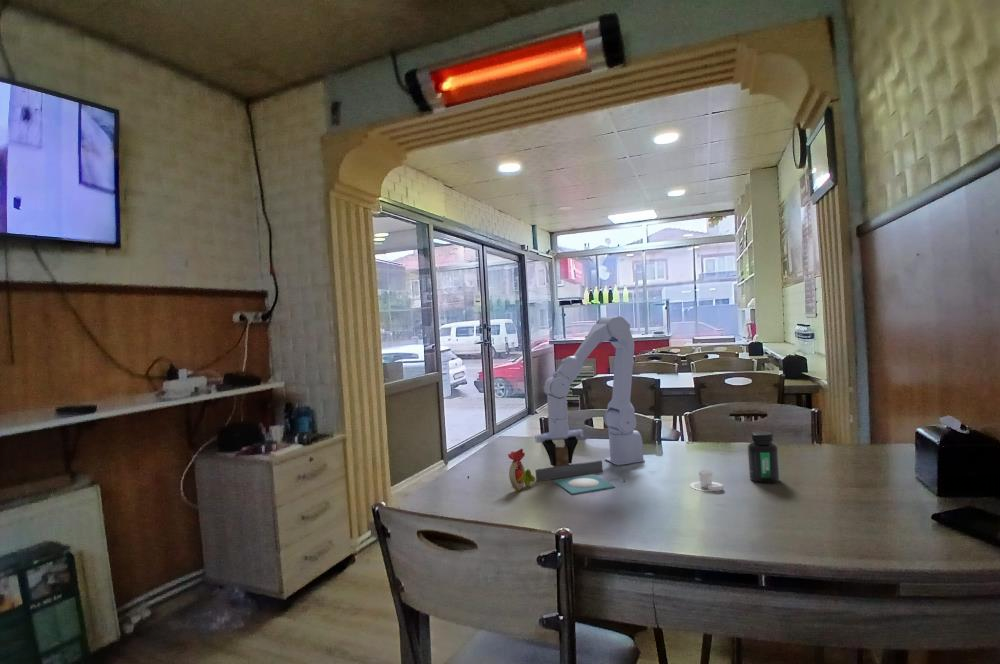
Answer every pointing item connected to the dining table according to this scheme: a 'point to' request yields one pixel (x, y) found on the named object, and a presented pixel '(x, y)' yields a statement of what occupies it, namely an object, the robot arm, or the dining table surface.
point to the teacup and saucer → (707, 482)
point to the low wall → (568, 470)
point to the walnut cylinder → (561, 455)
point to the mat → (583, 484)
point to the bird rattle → (519, 471)
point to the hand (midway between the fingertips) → (561, 463)
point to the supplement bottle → (763, 458)
